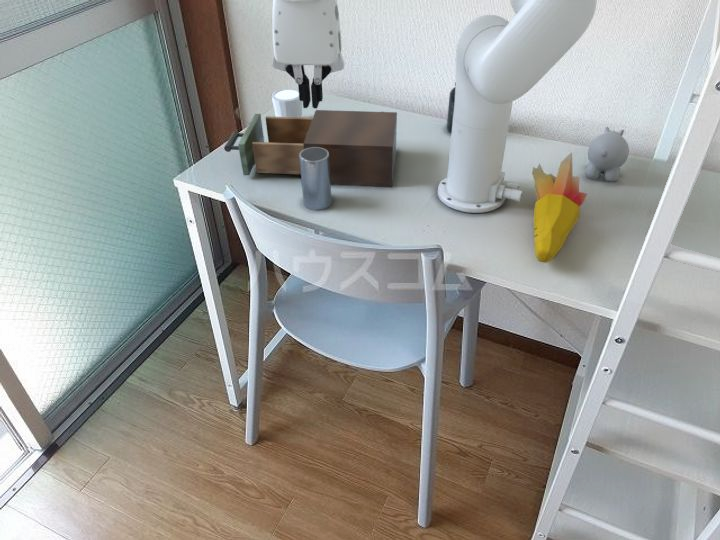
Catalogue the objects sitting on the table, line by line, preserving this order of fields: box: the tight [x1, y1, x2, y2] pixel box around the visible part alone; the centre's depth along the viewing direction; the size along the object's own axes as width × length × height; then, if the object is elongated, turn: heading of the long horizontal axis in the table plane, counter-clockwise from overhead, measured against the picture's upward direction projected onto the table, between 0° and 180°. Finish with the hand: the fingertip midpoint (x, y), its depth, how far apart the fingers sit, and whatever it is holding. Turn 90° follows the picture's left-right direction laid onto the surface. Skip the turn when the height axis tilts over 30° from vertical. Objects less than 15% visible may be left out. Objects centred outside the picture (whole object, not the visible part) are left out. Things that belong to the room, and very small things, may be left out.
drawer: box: [223, 113, 313, 176], centre depth 116 cm, size 20×13×7 cm
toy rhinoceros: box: [584, 126, 630, 183], centre depth 112 cm, size 7×12×8 cm, turn 153°
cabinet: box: [303, 109, 398, 188], centre depth 114 cm, size 17×15×9 cm
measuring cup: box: [299, 147, 333, 211], centre depth 103 cm, size 6×5×10 cm
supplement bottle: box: [446, 81, 456, 134], centre depth 125 cm, size 7×7×12 cm
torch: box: [531, 151, 588, 264], centre depth 97 cm, size 8×8×25 cm
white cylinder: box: [271, 88, 303, 117], centre depth 130 cm, size 7×7×7 cm
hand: (311, 104), depth 95 cm, fingers closed
